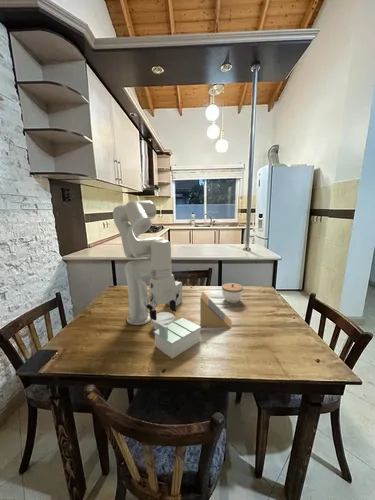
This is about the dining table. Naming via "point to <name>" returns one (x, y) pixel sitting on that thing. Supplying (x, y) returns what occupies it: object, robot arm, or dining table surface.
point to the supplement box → (179, 286)
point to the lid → (176, 330)
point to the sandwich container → (212, 314)
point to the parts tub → (177, 344)
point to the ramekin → (163, 319)
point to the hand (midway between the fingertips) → (163, 314)
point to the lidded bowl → (232, 292)
